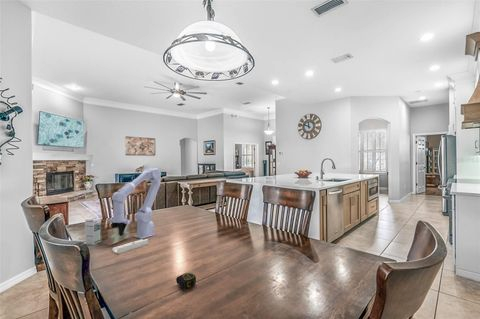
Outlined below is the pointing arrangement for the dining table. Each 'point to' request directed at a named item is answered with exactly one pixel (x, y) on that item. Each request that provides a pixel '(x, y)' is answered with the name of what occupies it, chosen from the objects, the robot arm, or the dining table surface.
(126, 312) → the dining table surface
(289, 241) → the dining table surface
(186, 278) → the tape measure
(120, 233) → the robot arm
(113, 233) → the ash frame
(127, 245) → the bar
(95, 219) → the syrup box
